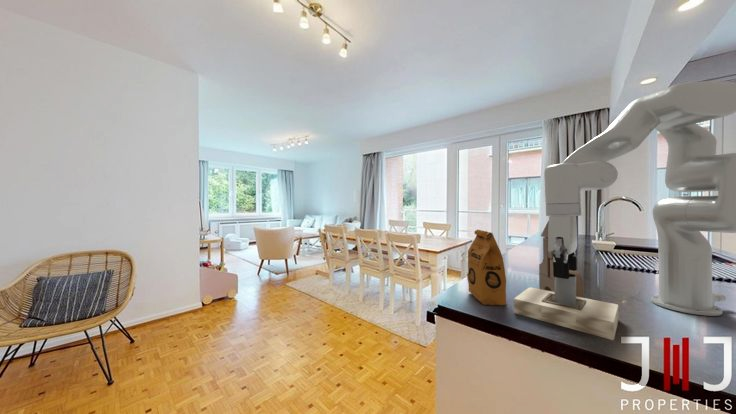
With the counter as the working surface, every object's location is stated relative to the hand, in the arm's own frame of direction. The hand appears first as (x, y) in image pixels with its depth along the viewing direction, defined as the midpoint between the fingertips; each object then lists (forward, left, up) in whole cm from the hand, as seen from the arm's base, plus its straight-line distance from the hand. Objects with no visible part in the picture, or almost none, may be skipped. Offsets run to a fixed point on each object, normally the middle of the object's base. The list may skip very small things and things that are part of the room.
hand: (565, 273), depth 68 cm
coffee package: (+15, -14, -12) cm, 23 cm away
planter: (0, 0, -11) cm, 11 cm away
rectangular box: (+1, 0, -12) cm, 12 cm away
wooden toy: (-9, -14, -12) cm, 20 cm away
